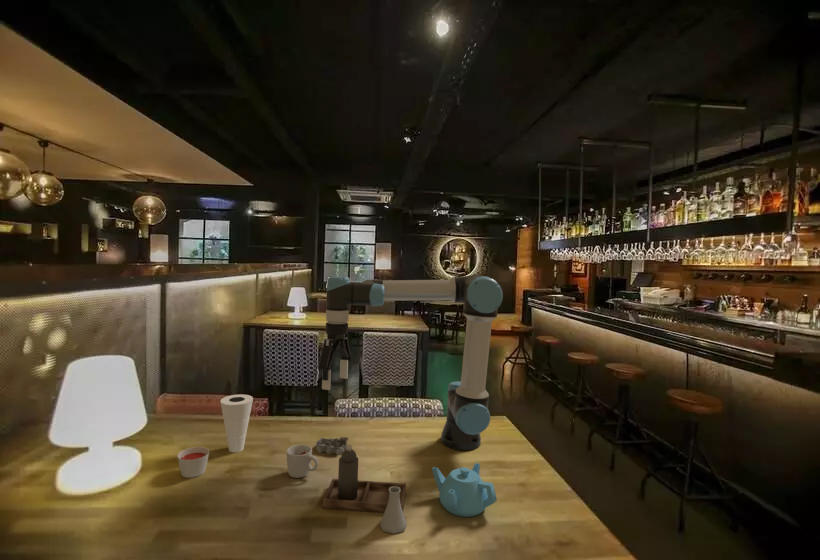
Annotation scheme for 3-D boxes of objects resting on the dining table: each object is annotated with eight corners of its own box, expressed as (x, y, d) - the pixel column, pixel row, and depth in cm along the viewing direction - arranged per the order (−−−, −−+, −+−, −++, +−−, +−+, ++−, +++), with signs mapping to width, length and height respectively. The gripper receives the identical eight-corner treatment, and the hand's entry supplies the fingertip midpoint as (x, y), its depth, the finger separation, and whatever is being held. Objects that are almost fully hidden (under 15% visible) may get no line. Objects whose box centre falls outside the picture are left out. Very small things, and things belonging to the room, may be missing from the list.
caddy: (405, 491, 133) (405, 483, 133) (402, 514, 121) (403, 505, 121) (332, 486, 134) (332, 478, 134) (322, 508, 122) (323, 500, 122)
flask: (379, 517, 119) (380, 482, 119) (405, 517, 120) (407, 481, 119) (379, 534, 112) (381, 497, 111) (407, 534, 113) (409, 497, 112)
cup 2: (212, 452, 152) (213, 401, 151) (235, 440, 162) (236, 392, 161) (236, 459, 148) (237, 406, 147) (258, 446, 158) (259, 397, 157)
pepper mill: (358, 491, 130) (360, 442, 129) (355, 502, 125) (357, 451, 124) (340, 490, 131) (341, 441, 130) (335, 500, 125) (337, 449, 124)
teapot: (445, 524, 118) (447, 485, 117) (429, 493, 132) (431, 458, 131) (498, 518, 121) (500, 480, 120) (477, 488, 136) (479, 455, 135)
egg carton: (349, 448, 160) (349, 437, 160) (341, 457, 153) (341, 446, 153) (322, 443, 163) (322, 432, 163) (313, 452, 156) (313, 441, 155)
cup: (323, 472, 142) (324, 448, 141) (310, 484, 134) (311, 459, 134) (295, 466, 145) (295, 442, 145) (280, 477, 138) (281, 452, 137)
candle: (215, 469, 141) (215, 450, 140) (190, 483, 132) (191, 462, 132) (195, 463, 144) (195, 444, 144) (170, 475, 136) (170, 455, 136)
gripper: (342, 316, 162) (340, 372, 163) (308, 326, 138) (307, 393, 139) (361, 317, 160) (359, 375, 161) (330, 329, 136) (328, 396, 137)
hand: (335, 383), depth 150 cm, fingers open, 13 cm apart
